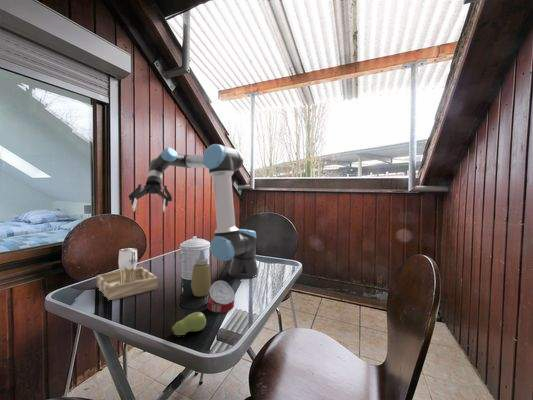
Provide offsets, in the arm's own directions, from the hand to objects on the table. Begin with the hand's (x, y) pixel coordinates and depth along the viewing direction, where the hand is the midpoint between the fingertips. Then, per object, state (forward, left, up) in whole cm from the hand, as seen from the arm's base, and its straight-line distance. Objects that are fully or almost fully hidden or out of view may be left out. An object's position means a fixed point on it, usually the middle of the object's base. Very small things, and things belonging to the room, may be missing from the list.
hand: (148, 210), depth 122 cm
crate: (-13, +13, -32) cm, 37 cm away
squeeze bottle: (-38, -7, -32) cm, 50 cm away
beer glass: (-13, +13, -31) cm, 36 cm away
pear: (-59, +10, -32) cm, 68 cm away
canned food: (-52, -7, -32) cm, 62 cm away
